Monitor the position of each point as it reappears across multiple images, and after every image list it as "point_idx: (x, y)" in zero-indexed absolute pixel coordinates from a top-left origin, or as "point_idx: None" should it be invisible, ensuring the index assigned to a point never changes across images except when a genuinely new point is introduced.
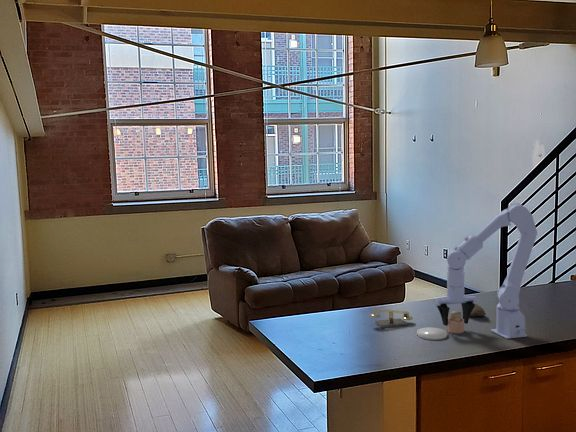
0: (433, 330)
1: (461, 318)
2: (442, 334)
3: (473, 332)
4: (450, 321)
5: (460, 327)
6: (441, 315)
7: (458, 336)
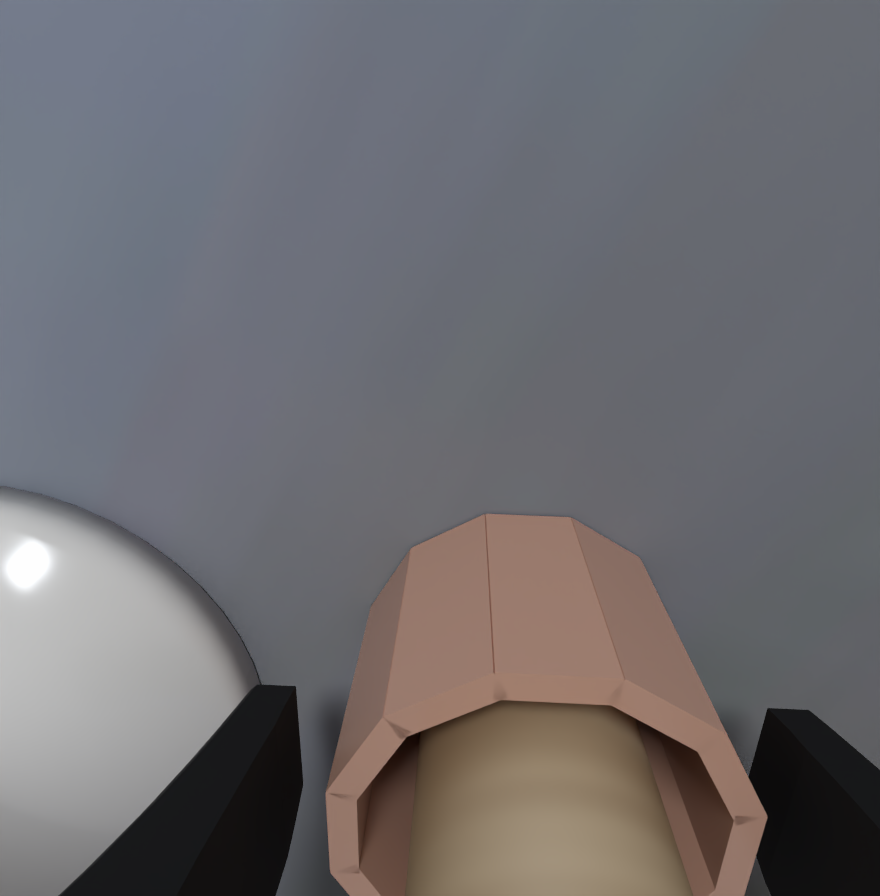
0: (34, 703)
1: (742, 830)
2: None
3: None
4: (349, 880)
5: None
6: (107, 877)
7: None
